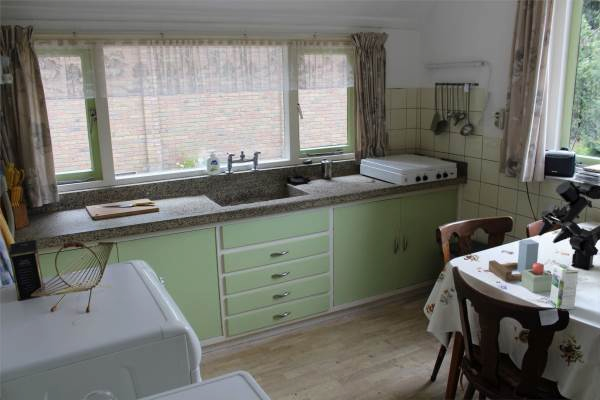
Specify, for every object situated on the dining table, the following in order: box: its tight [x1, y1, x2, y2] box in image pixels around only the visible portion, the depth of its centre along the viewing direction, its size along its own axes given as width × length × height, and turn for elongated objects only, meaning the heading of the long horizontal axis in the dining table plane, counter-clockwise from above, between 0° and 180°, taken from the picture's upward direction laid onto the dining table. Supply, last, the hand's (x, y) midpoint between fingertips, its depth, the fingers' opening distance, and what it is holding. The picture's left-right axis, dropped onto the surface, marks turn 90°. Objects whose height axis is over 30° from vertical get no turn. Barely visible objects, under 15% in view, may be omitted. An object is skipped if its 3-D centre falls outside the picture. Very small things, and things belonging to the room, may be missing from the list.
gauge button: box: [533, 262, 545, 274], centre depth 189 cm, size 4×4×3 cm
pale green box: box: [520, 269, 553, 294], centre depth 190 cm, size 8×7×6 cm
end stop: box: [488, 260, 513, 283], centre depth 203 cm, size 2×12×4 cm, turn 10°
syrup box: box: [549, 263, 579, 310], centre depth 174 cm, size 6×6×14 cm
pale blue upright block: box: [516, 238, 540, 274], centre depth 203 cm, size 5×5×13 cm
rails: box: [500, 262, 552, 282], centre depth 204 cm, size 17×12×2 cm
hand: (546, 238), depth 203 cm, fingers open, 9 cm apart
